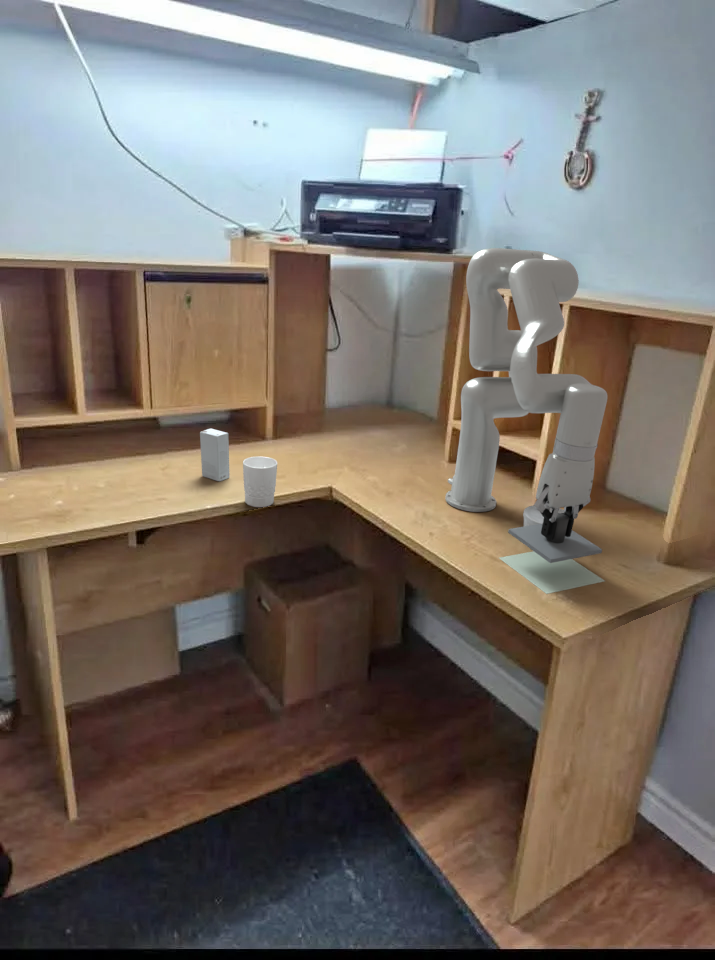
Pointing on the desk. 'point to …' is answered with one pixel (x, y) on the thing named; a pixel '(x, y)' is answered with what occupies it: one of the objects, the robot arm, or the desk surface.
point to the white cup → (259, 480)
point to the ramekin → (534, 516)
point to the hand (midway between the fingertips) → (555, 534)
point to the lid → (555, 541)
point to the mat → (551, 572)
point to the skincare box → (215, 454)
